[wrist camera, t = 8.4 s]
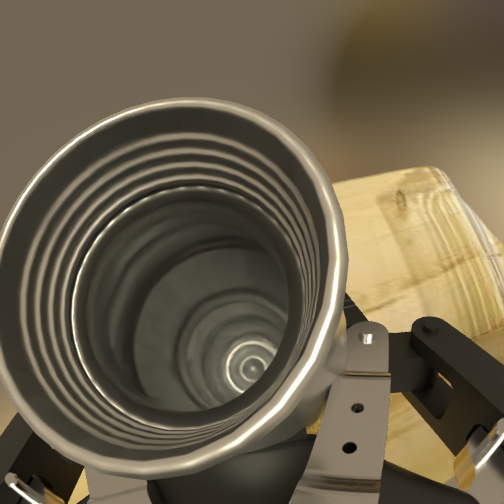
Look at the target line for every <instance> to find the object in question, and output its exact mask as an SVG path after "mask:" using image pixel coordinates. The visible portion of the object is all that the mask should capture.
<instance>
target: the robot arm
mask: <svg viewBox="0 0 504 504" xmlns="http://www.w3.org/2000/svg"><path fill="white" fill-rule="evenodd" d="M343 311H344V315H345V319H346V333H347V355H346V360H345V365H344V370H343V372H341V373H340V374H339V375H338V376H337V377H336V378H335V380H334V381H333V383H332V385H331V389H330V393H329V396H328V400H327V404H326V407H325V411H324V414H323V417H322V421H321V424H320V427H319V431H318V434H307V432H306V428H304V429H302V430H301V431H299V432H298V433H297V434H295V435H294V436H292V437H290V438H288V439H286V440H284V441H282V442H280V443H278V444H274V445H271V446H269V447H266V448H263V449H259V450H255V451H251V452H247V453H243V454H238V455H236V456H234V457H232V458H230V459H228V460H225V461H223V462H221V463H219V464H217V465H214V466H212V467H210V468H207V469H205V470H203V471H200V472H198V473H195V474H190V475H184V476H178V477H171V478H163V479H155V480H140V479H132V478H125V477H118V476H112V475H107V474H102V473H100V472H97V471H95V470H92V469H90V468H88V467H85V466H83V465H81V464H79V463H77V462H74V461H72V460H70V459H68V458H66V457H65V456H63V455H62V454H61V453H59V452H58V451H57V450H55V449H52V447H51V446H50V445H49V444H48V443H46V442H45V441H44V440H43V439H42V438H40V437H39V436H38V435H37V434H36V433H35V432H34V431H33V430H32V428H31V427H30V426H29V425H28V424H27V422H26V421H25V420H24V419H23V417H22V416H21V415H20V414H19V412H17V414H16V415H15V416H14V418H13V419H12V421H11V422H10V423H9V425H8V426H7V428H6V429H5V430H4V432H3V433H2V435H1V436H0V504H68V501H69V499H70V497H71V495H72V492H73V490H74V488H75V486H76V484H77V481H78V479H79V477H80V475H81V473H82V471H83V469H84V468H85V473H86V479H87V483H88V489H89V495H88V496H86V497H85V498H84V499H82V500H81V501H80V502H78V503H77V504H501V503H502V502H503V500H504V326H503V327H500V328H498V329H495V330H493V331H490V332H488V333H485V334H482V335H480V336H477V337H475V338H473V339H471V340H470V339H469V338H468V337H466V336H465V335H464V334H462V333H461V332H459V331H458V330H457V329H455V328H454V327H453V326H451V325H450V324H448V323H447V322H446V321H444V320H442V319H440V318H437V317H422V318H419V319H417V320H416V321H414V323H413V324H412V328H411V332H401V333H388V330H387V329H386V327H385V326H383V325H382V324H380V323H377V322H372V321H368V320H367V318H366V317H365V316H364V315H363V313H362V312H361V311H360V309H359V308H358V307H357V306H355V303H354V302H353V301H352V300H351V298H350V297H349V296H348V294H347V293H346V292H345V298H344V305H343ZM438 373H440V374H441V375H443V376H444V377H445V378H446V379H447V380H448V381H449V382H450V384H451V385H452V388H453V389H452V388H451V387H450V386H449V385H448V384H447V383H446V382H445V381H444V380H443V379H442V378H441V377H440V376H439V375H438ZM397 392H401V393H402V394H403V395H404V396H405V398H406V399H407V400H408V401H409V402H410V403H411V405H412V406H413V407H414V408H415V409H416V410H417V412H418V413H419V414H420V415H421V416H422V417H423V419H424V420H425V421H426V422H427V423H428V424H429V426H430V427H431V428H432V429H433V430H434V432H435V433H436V434H437V435H438V436H439V437H440V439H441V440H442V441H443V442H444V443H445V445H446V446H447V447H448V448H449V449H450V451H451V452H452V453H453V454H454V455H455V457H456V458H455V461H454V473H455V475H456V476H455V478H456V480H457V482H459V489H456V488H453V487H450V486H447V485H444V484H442V483H439V482H436V481H433V480H431V479H428V478H426V477H423V476H421V475H418V474H416V473H413V472H411V471H408V470H406V469H404V468H402V467H399V466H397V465H395V464H393V463H390V462H388V461H386V460H384V454H385V447H386V438H387V429H388V418H389V404H390V393H397Z"/></svg>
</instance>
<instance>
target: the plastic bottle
mask: <svg viewBox="0 0 504 504" xmlns="http://www.w3.org/2000/svg"><path fill="white" fill-rule="evenodd" d="M348 262H349V258H348V249H347V241H346V233H345V225H344V218H343V213H342V210H341V208H340V205H339V202H338V200H337V197H336V194H335V192H334V189H333V186H332V184H331V182H330V179H329V177H328V175H327V174H326V172H325V171H324V169H323V168H322V166H321V165H320V163H319V162H318V161H317V159H316V158H315V156H314V155H313V153H312V152H311V150H310V149H309V148H308V147H307V146H306V145H305V144H304V143H303V142H302V141H301V140H300V139H299V138H298V137H296V136H295V135H294V134H293V133H292V132H291V131H290V130H289V129H288V128H287V127H285V126H284V125H282V124H280V123H279V122H277V121H275V120H274V119H272V118H270V117H269V116H267V115H265V114H264V113H262V112H260V111H257V110H255V109H251V108H249V107H246V106H244V105H241V104H238V103H235V102H231V101H225V100H220V99H213V98H207V97H177V98H170V99H163V100H156V101H151V102H147V103H144V104H141V105H137V106H134V107H131V108H127V109H125V110H122V111H120V112H118V113H115V114H113V115H111V116H109V117H107V118H104V119H102V120H100V121H99V122H97V123H95V124H94V125H92V126H90V127H89V128H87V129H85V130H84V131H82V132H81V133H79V134H78V135H76V136H75V137H74V138H72V139H71V140H70V141H69V142H67V143H66V144H65V145H64V146H63V147H61V148H60V149H59V150H58V151H56V152H55V153H54V154H53V155H52V156H51V157H50V158H49V159H48V160H47V162H46V163H45V164H44V165H43V166H42V167H41V168H40V169H39V170H38V171H37V172H36V174H35V175H34V176H33V177H32V179H31V180H30V182H29V183H28V184H27V185H26V187H25V188H24V190H23V191H22V193H21V194H20V195H19V197H18V199H17V200H16V202H15V204H14V206H13V208H12V209H11V211H10V213H9V215H8V217H7V219H6V221H5V223H4V226H3V228H2V230H1V233H0V380H1V382H2V384H3V386H4V388H5V390H6V392H7V394H8V396H9V398H10V400H11V402H12V404H13V406H14V407H15V408H16V410H17V411H18V412H19V414H20V415H21V416H22V417H23V419H24V420H25V421H26V422H27V424H28V425H29V426H30V427H31V428H32V430H33V431H34V432H35V433H36V434H37V435H38V436H39V437H40V438H42V439H43V440H44V441H45V442H46V443H48V444H49V445H50V446H52V447H53V448H54V449H55V450H57V451H58V452H59V453H61V454H62V455H63V456H65V457H66V458H68V459H70V460H72V461H74V462H77V463H79V464H81V465H83V466H85V467H88V468H90V469H92V470H95V471H97V472H100V473H102V474H107V475H112V476H118V477H125V478H132V479H140V480H155V479H163V478H171V477H178V476H184V475H190V474H195V473H198V472H200V471H203V470H205V469H207V468H210V467H212V466H214V465H217V464H219V463H221V462H223V461H225V460H228V459H230V458H232V457H234V456H236V455H238V454H243V453H247V452H251V451H255V450H259V449H263V448H266V447H269V446H271V445H274V444H278V443H280V442H282V441H284V440H286V439H288V438H290V437H292V436H294V435H295V434H297V433H298V432H299V431H301V430H302V429H304V428H306V432H308V431H309V430H310V429H311V428H312V427H314V426H315V425H316V424H317V423H318V421H319V420H320V419H321V417H322V416H323V414H324V411H325V407H326V404H327V400H328V396H329V393H330V389H331V385H332V383H333V381H334V380H335V378H336V377H337V376H338V375H339V374H340V373H341V372H343V370H344V365H345V360H346V355H347V333H346V319H345V315H344V311H343V305H344V298H345V290H346V281H347V272H348Z"/></svg>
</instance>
